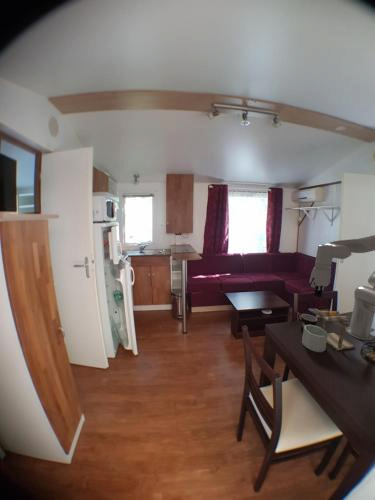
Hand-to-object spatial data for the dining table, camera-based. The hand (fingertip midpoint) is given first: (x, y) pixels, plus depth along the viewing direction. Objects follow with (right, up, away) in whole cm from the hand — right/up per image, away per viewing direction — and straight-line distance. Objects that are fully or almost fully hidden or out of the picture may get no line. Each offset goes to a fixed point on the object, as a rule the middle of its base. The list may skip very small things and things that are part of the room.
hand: (317, 296), depth 110 cm
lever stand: (+11, -27, +1) cm, 29 cm away
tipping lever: (+6, -15, -1) cm, 16 cm away
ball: (+6, -9, -4) cm, 12 cm away
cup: (-5, -28, -3) cm, 28 cm away
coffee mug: (0, -25, +11) cm, 28 cm away
